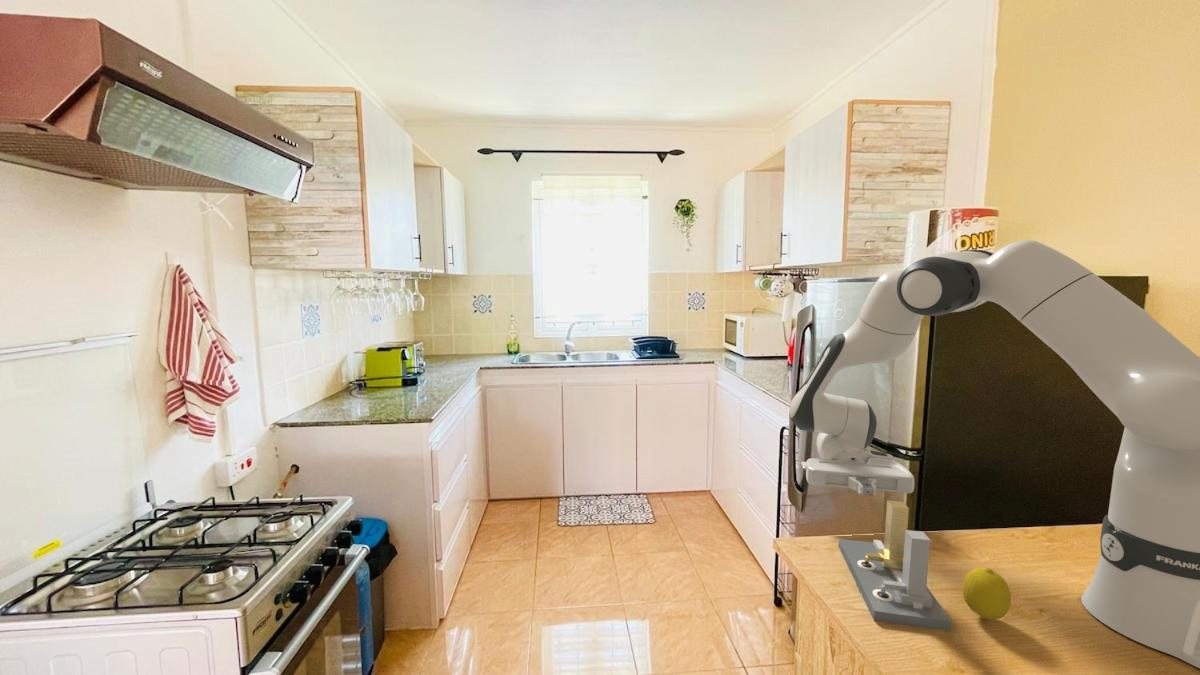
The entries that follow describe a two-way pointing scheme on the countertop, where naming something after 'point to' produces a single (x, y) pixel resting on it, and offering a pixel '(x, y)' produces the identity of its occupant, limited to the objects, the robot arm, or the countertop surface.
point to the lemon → (986, 593)
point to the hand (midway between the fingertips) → (868, 491)
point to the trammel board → (896, 583)
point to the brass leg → (892, 537)
